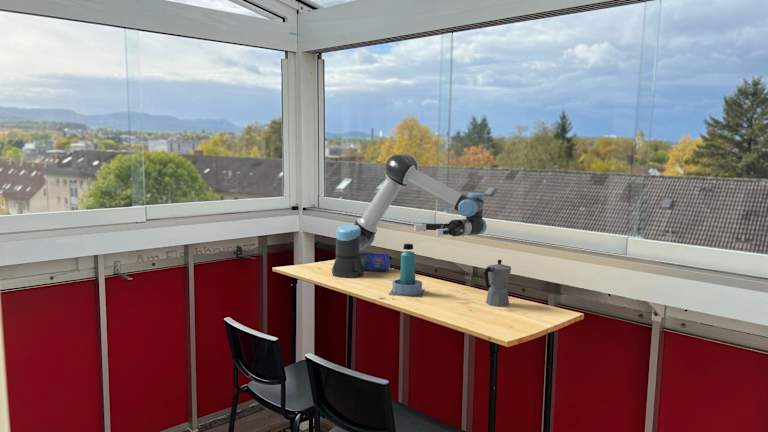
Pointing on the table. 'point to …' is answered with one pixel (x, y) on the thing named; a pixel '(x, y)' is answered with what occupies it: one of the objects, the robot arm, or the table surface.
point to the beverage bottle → (407, 266)
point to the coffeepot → (497, 284)
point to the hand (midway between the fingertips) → (425, 230)
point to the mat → (408, 296)
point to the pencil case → (375, 262)
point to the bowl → (407, 288)
